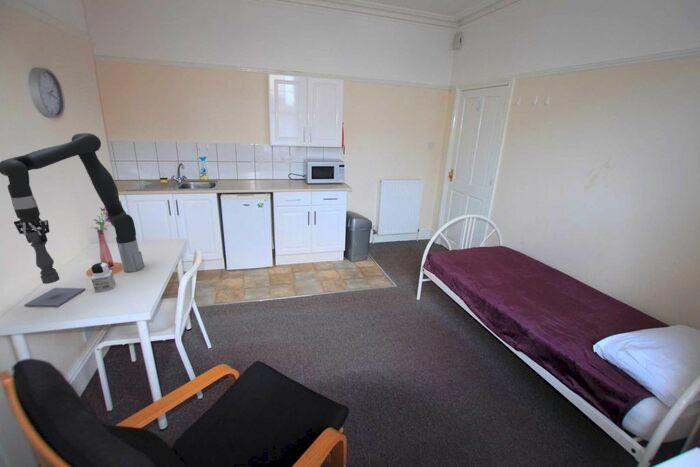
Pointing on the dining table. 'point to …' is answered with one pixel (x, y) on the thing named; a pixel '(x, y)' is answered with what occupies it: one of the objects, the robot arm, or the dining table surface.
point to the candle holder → (43, 258)
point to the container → (102, 277)
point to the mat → (55, 297)
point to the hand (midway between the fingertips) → (38, 242)
